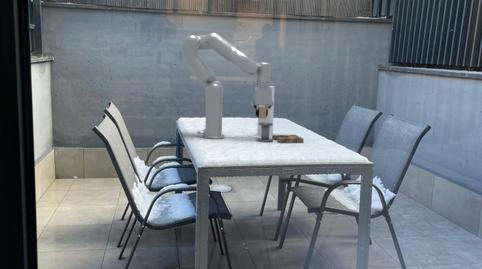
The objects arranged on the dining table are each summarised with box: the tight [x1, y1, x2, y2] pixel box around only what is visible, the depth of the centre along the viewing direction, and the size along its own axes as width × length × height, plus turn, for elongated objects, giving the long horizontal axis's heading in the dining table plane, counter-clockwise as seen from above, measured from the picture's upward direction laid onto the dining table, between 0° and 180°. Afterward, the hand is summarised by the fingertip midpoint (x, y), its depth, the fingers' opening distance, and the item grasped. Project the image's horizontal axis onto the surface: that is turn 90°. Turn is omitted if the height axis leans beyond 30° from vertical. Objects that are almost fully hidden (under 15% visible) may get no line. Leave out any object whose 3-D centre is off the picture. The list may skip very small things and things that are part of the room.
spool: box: [256, 122, 274, 143], centre depth 254 cm, size 9×9×10 cm
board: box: [271, 134, 305, 144], centre depth 257 cm, size 14×14×2 cm
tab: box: [256, 107, 266, 119], centre depth 260 cm, size 4×4×6 cm
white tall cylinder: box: [256, 85, 276, 137], centre depth 275 cm, size 9×9×30 cm
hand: (261, 116), depth 261 cm, fingers closed on tab, 4 cm apart
